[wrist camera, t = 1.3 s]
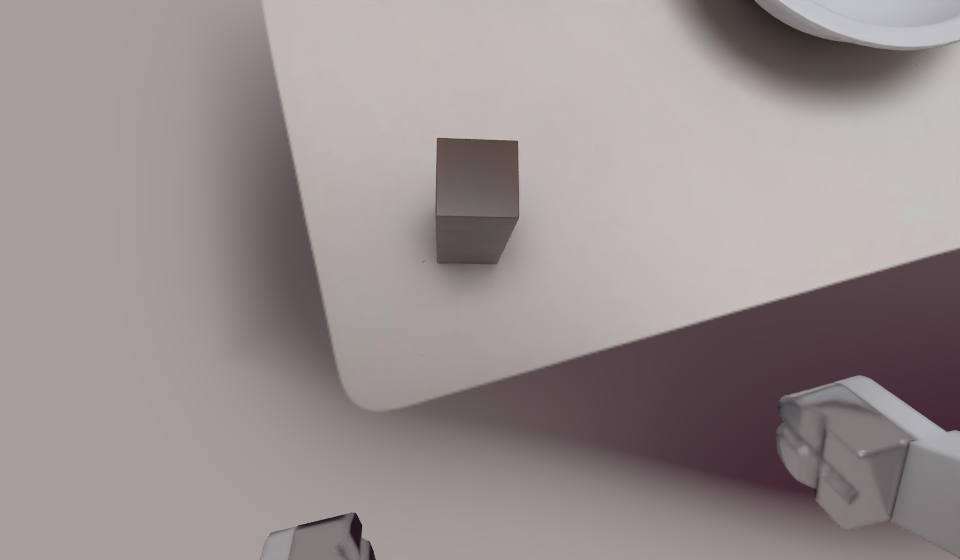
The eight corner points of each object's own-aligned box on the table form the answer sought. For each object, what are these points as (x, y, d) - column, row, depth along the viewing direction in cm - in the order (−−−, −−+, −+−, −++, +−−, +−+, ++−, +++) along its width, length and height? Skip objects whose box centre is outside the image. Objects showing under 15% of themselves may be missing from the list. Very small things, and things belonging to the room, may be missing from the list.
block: (437, 263, 34) (435, 215, 24) (438, 205, 35) (436, 137, 25) (496, 264, 34) (519, 218, 24) (496, 207, 35) (518, 140, 25)
